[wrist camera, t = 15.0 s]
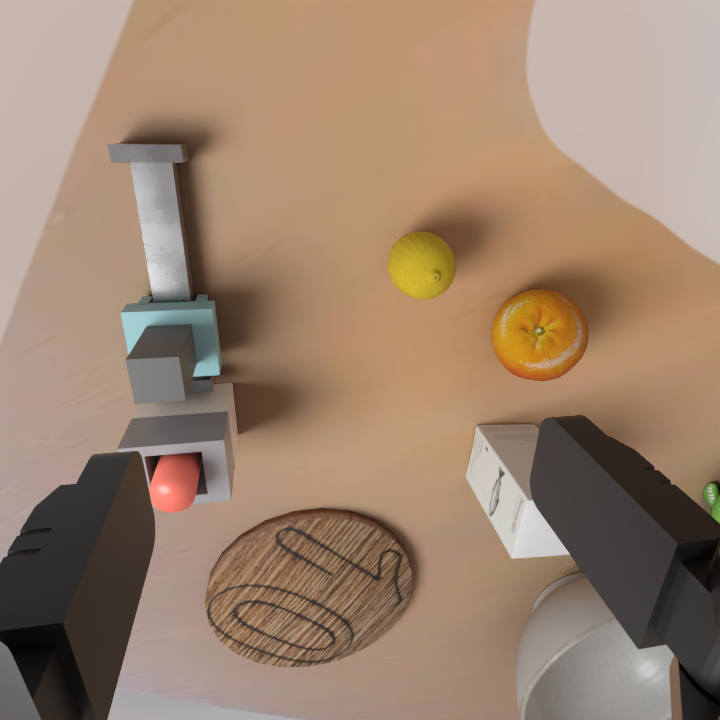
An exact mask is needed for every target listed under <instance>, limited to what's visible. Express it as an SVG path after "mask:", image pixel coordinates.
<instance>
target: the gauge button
mask: <svg viewBox="0 0 720 720" xmlns="http://www.w3.org/2000/svg"><path fill="white" fill-rule="evenodd" d="M202 460H203V458H202V452H192V453H180V454H168V455H160V458H159V461H158V464H157V467H156V470H155V473H154V476H153V479H152V482H151V485H150V488H149V493H150V498H151V503H152V504H153V506H155V507H156V508H158V509H159V510H162V511H165V512H179V511H182V510H185V509H187V508H188V507H189V506H191V504H192V503H193V502H194V500H195V496H196V491H197V485H198V480H199V475H200V470H201V465H202Z"/></svg>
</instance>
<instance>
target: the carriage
mask: <svg viewBox="0 0 720 720" xmlns="http://www.w3.org/2000/svg"><path fill="white" fill-rule="evenodd" d="M120 313H121V318H122V323H123V328H124V333H125V338H126V343H127V349H128V354H129V355H128V357H127V359H126V363H127V368H128V373H129V378H130V383H131V388H132V393H133V398H134V403H135V404H144V403H158V402H173V401H186V398H187V395H188V391H189V388H190V385H191V381H192V378H193V377H197V376H214V375H220V372H221V367H222V361H221V352H220V343H219V334H218V326H217V317H216V308H215V301H208V296H207V294H202V295H198V296H197V298H196V300H195V301H189V302H163V303H153V297H152V296H146V297H142V298H141V300H140V301H139V302H138V303H136V304H127V305H126V306H125V307H124V309H123V310H122V311H121V312H120Z"/></svg>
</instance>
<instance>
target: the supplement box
mask: <svg viewBox="0 0 720 720" xmlns="http://www.w3.org/2000/svg"><path fill="white" fill-rule="evenodd" d="M538 434H539V429H538V428H537V427H536V426H535V425H534V424H509V425H506V424H501V425H477V426H476V432H475V438H474V443H473V448H472V453H471V457H470V461H469V465H468V469H467V473H466V479H467V481H468V482H469V484H470V486H471V488H472V489H473V491H474V493H475V495H476V497H477V498H478V500H479V502H480V504H481V505H482V507H483V509H484V511H485V512H486V514H487V516H488V518H489V519H490V521H491V523H492V525H493V526H494V528H495V530H496V532H497V533H498V535H499V537H500V539H501V541H502V542H503V544H504V546H505V547H506V549H507V551H508V553H509V554H510V556H511V558H512V559H515V558H530V557H544V556H556V555H570V554H569V552H568V551H567V549H566V548H565V547H564V545H563V544H562V542H561V541H560V540H559V538H558V537H557V536H556V534H555V533H554V531H553V530H552V529H551V527H550V526H549V524H548V523H547V522H546V520H545V519H544V517H543V516H542V515H541V513H540V512H539V510H538V509H537V507H536V506H535V504H534V501H533V499H532V495H531V491H530V475H531V470H532V465H533V460H534V455H535V449H536V444H537V439H538Z"/></svg>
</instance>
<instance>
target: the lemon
mask: <svg viewBox="0 0 720 720" xmlns="http://www.w3.org/2000/svg"><path fill="white" fill-rule="evenodd" d="M388 271H389V275H390V278H391V280H392V281H393V283H394V285H395V286H396V287H397V288H398V289H399V290H400V291H401V292H402V293H404V294H405V295H408V296H410V297H412V298H416V299H431V298H434V297H437V296H439V295H441V294H442V293H444V292H445V291H446V290H447V289H448V288H449V286H450V285H451V283H452V282H453V279H454V276H455V271H456V263H455V258H454V255H453V253H452V250H451V248H450V247H449V246H448V244H447V243H446V242H445V241H444V240H443V239H441V238H440V237H439V236H437V235H435V234H432V233H429V232H422V231H417V232H412V233H409V234H407V235H405V236H403V237H402V238H400V239H399V240H398V241H397V242H396V243H395V244H394V246H393V247H392V249H391V251H390V253H389V258H388Z"/></svg>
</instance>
